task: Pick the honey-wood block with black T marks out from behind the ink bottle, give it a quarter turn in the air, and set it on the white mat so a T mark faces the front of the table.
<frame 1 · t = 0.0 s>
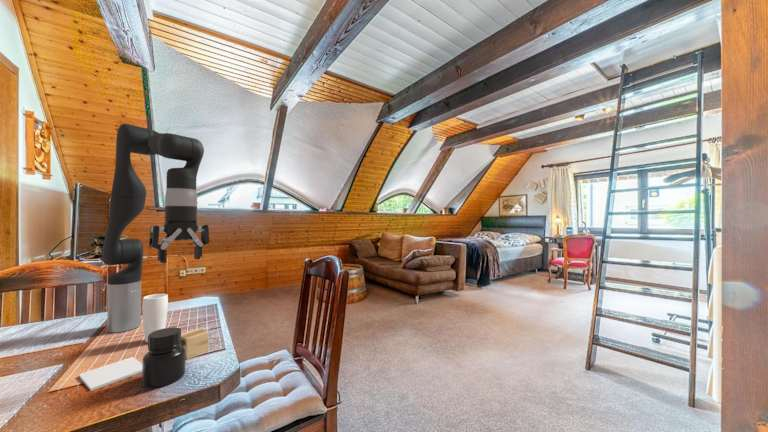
hand: (180, 260, 81), 29 cm above the table, tool pointing down, fingers open, 8 cm apart
white cup: (155, 340, 95), on the table
white mat: (113, 373, 75), on the table
lettered block: (193, 352, 87), on the table
ink bottle: (164, 379, 73), on the table
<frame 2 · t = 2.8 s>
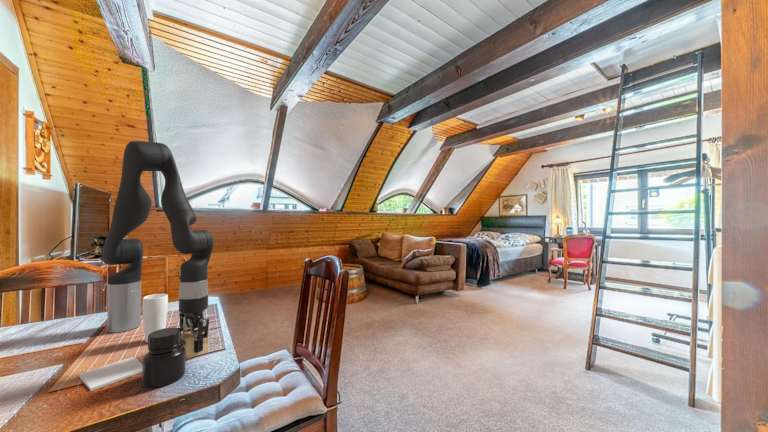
hand: (193, 348, 87), 1 cm above the table, tool pointing down, fingers closed on lettered block, 6 cm apart
lettered block: (193, 352, 87), on the table, touching gripper
everything else where it was.
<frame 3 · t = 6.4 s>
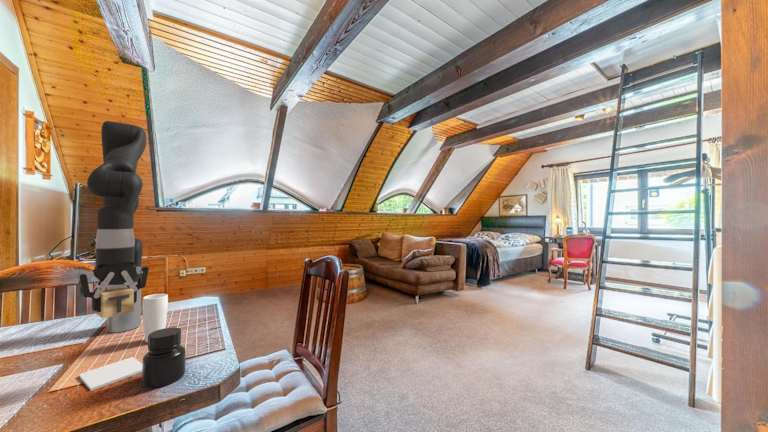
hand: (114, 308, 75), 17 cm above the table, tool pointing down, fingers closed on lettered block, 6 cm apart
lettered block: (115, 312, 75), point 16 cm above the table, touching gripper
everything else where it was.
when the fingers open (3 cm above the table, at t = 10.0 s): lettered block drops 1 cm, resting on white mat.
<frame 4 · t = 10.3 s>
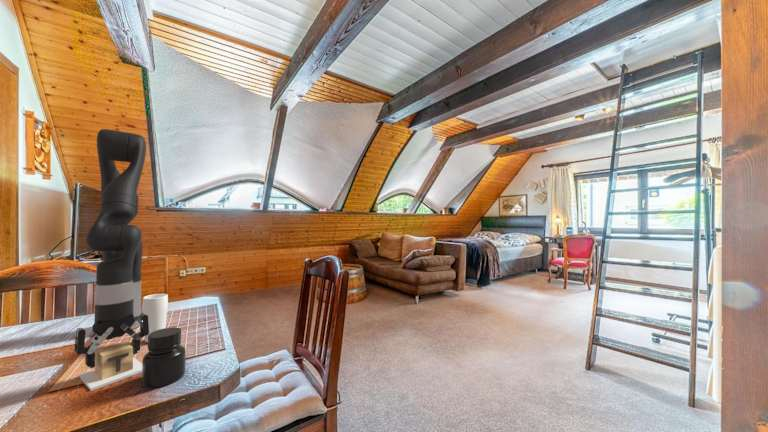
hand: (114, 359, 75), 4 cm above the table, tool pointing down, fingers open, 8 cm apart
lettered block: (114, 370, 75), point 1 cm above the table, touching white mat
everything else where it was.
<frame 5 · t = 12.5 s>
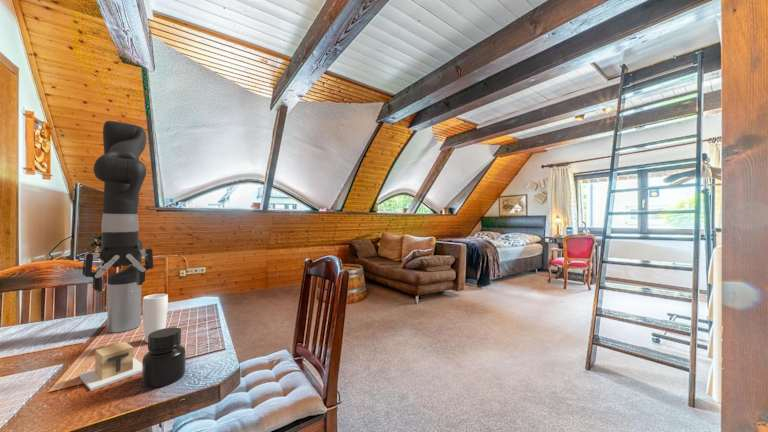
hand: (120, 287, 78), 22 cm above the table, tool pointing down, fingers open, 8 cm apart
nothing on the table moved.
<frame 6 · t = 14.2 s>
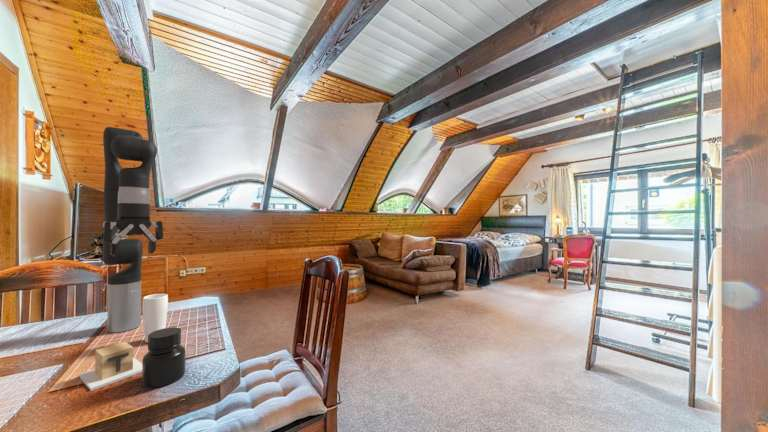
hand: (133, 254, 87), 30 cm above the table, tool pointing down, fingers open, 8 cm apart
nothing on the table moved.
at the end: lettered block inside the target area on the white mat (0.0 cm from its centre), point 0.6 cm above the white mat's base; lettered block tilted 0°; ink bottle moved 0.2 cm from its start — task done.
